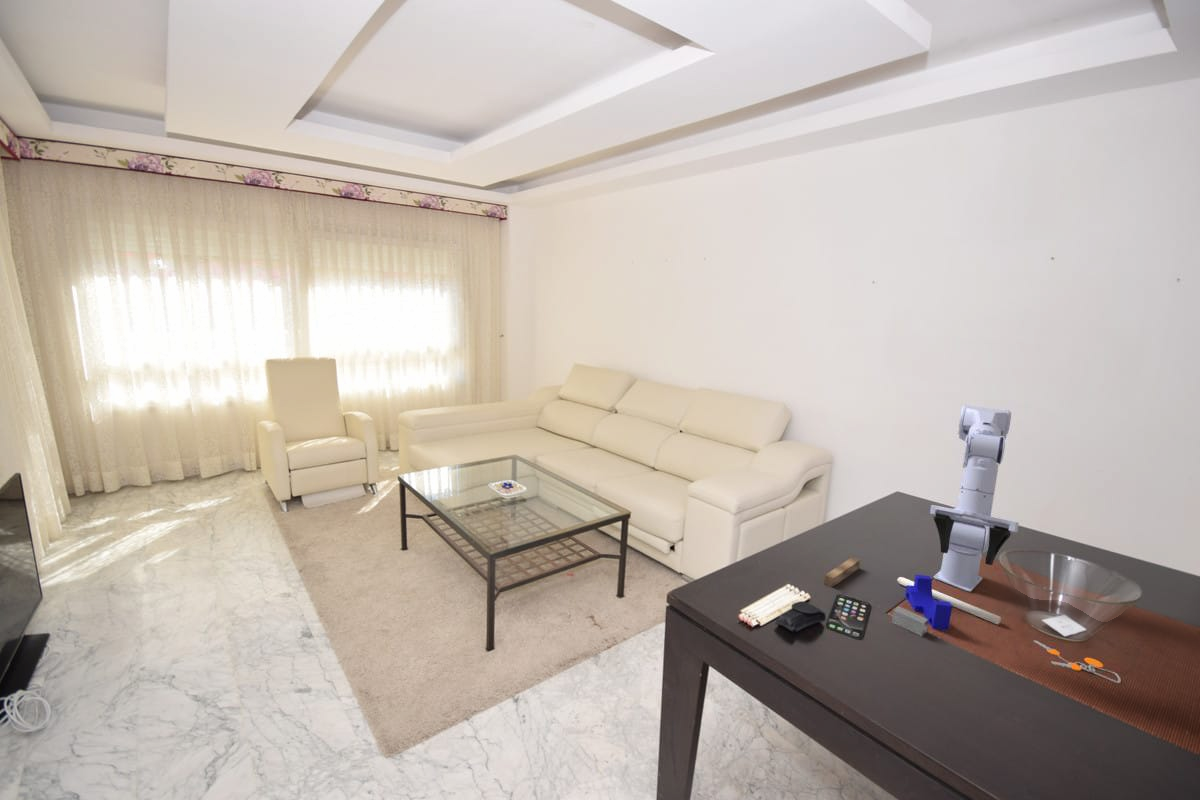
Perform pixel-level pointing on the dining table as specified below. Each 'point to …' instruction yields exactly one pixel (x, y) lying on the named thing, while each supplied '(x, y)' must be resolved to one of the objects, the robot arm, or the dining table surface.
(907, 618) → the grey rectangular block
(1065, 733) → the dining table surface
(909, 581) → the white rod
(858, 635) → the smartphone
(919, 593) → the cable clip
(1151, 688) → the dining table surface
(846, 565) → the bar
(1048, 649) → the key chain
